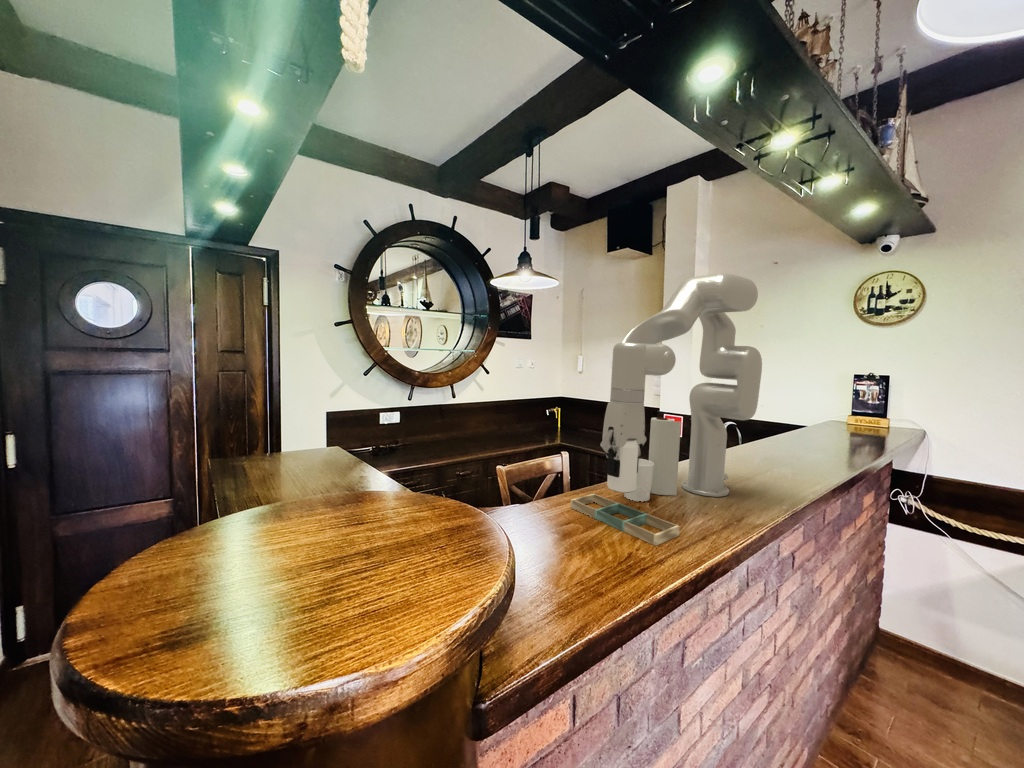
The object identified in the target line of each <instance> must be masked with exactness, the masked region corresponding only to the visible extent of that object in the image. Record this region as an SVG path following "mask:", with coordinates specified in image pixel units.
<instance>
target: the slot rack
mask: <svg viewBox="0 0 1024 768" xmlns="http://www.w3.org/2000/svg"><path fill="white" fill-rule="evenodd" d="M593 502H595V503H593ZM589 503H591V504H596V503H597V504H596V505H598V504H599V505H598V506H601V505H602V506H601V507H600V508H595V507H592V506H589V505H590V504H589ZM585 504H588V505H585ZM603 506H605V507H603ZM571 508H572V509H571ZM570 509H571V510H574V511H576V510H577V511H576V512H578V511H579V513H580V512H581V514H583V513H584V514H583V515H585V514H586V515H585V516H587V515H589V516H590V518H592V517H593V518H592V519H594V518H595V519H594V520H596V519H597V520H596V521H598V520H599V521H598V522H601V521H602V522H601V523H603V522H604V524H605V523H606V525H607V524H608V526H611V527H612V528H614V529H617V530H619V531H621V532H624V533H626V534H628V535H630V536H632V537H635V538H636V539H640V540H642V541H644V542H646V543H649V544H651V545H653V546H655V547H657V546H660V545H661V544H664V543H665V542H668V541H670V540H673V539H675V538H677V537H680V530H681V529H680V525H678V524H676V523H673V522H670V521H667V520H665V519H662V518H659V517H657V516H654V515H653V514H652V515H651V514H648V513H646V512H644V511H641V510H639V509H636V508H633V507H631V506H628V505H625V504H622V503H620V502H617V501H614V500H612V499H609V498H607V497H604V496H601V495H599V494H597V493H591V494H587V495H583V496H580V497H576V498H571V499H570ZM611 514H612V515H611ZM615 514H621V515H623V516H626V517H628V519H625V520H624V519H621V518H619V517H616V516H614V515H615ZM589 516H588V517H589ZM644 525H648V526H651V527H653V528H656V529H658V530H661V531H659V532H657V533H654V532H652V531H650V530H648V529H645V528H643V527H641V526H644Z"/></svg>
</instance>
